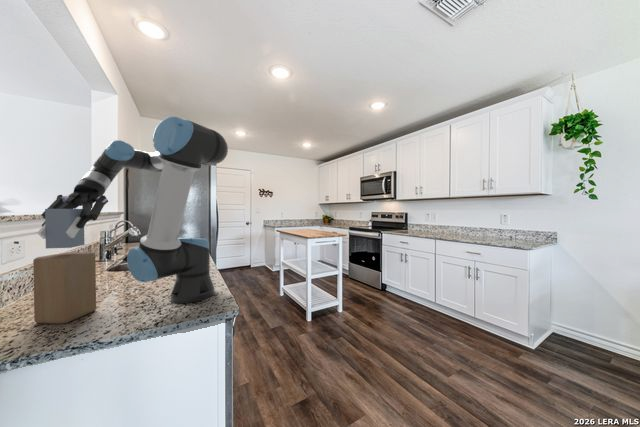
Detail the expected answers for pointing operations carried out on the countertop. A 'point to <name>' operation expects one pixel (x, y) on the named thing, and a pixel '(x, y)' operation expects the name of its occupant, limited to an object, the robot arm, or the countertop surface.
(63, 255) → the wooden block
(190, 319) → the countertop surface
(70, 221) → the slate block
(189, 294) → the robot arm
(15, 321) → the countertop surface
